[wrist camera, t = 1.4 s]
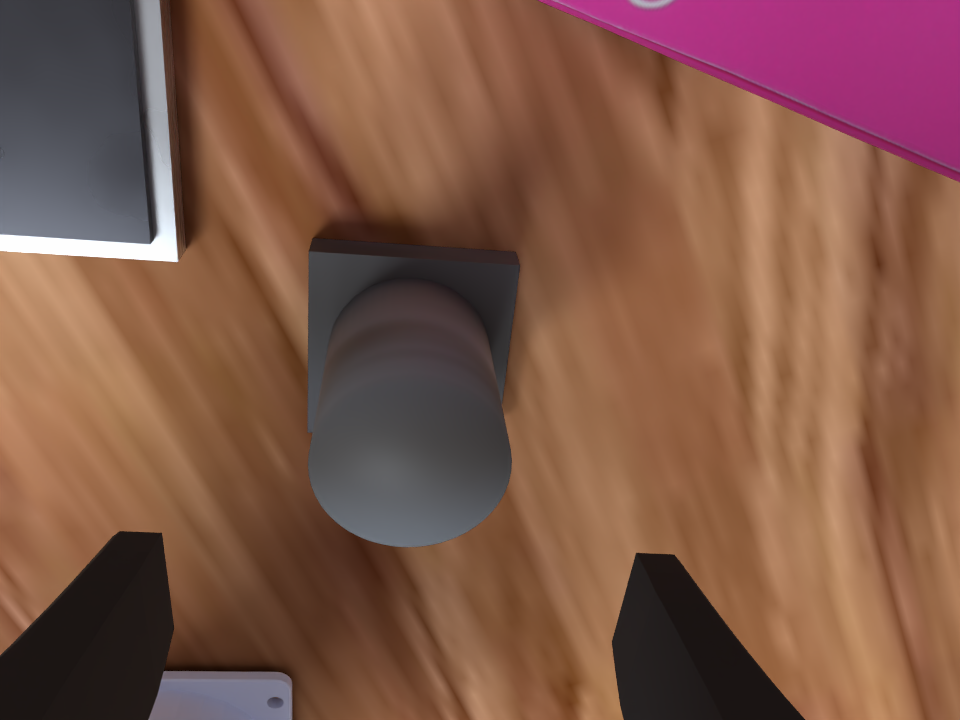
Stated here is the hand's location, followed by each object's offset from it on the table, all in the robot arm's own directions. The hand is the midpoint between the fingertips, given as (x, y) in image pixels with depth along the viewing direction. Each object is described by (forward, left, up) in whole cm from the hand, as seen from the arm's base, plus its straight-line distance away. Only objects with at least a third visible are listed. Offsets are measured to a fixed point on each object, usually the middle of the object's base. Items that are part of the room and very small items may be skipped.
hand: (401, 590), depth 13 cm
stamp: (0, 0, -10) cm, 10 cm away
